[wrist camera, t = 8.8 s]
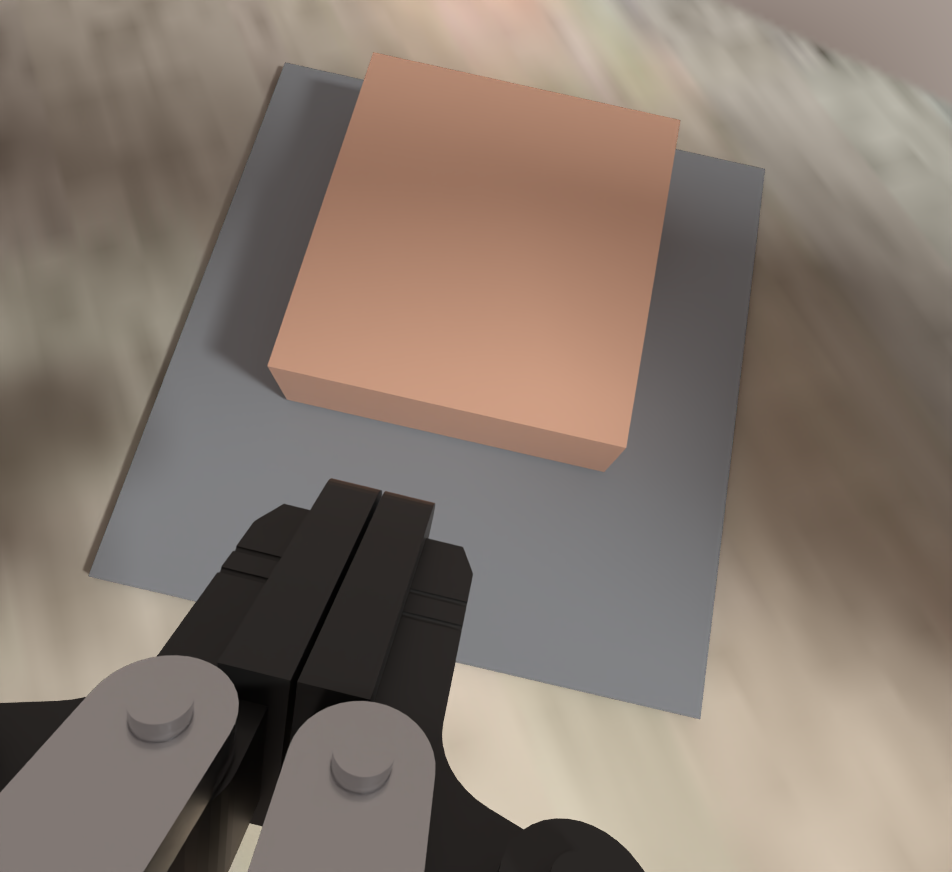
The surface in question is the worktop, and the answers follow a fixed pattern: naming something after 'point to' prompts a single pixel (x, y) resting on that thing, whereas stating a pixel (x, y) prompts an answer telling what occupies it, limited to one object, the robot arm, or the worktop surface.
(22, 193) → the worktop surface
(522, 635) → the mat
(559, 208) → the tile
